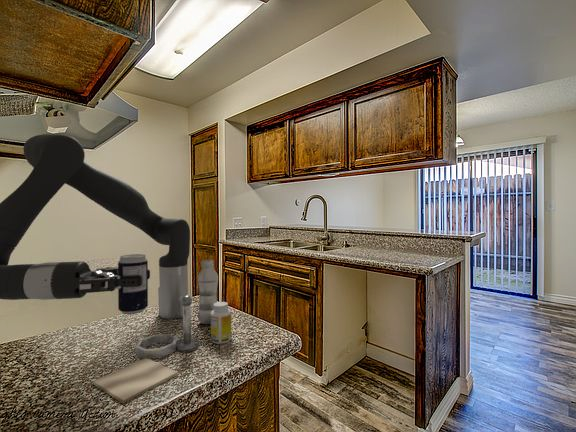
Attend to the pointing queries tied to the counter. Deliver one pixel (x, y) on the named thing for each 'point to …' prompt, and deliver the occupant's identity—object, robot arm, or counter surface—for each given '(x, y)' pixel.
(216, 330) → the supplement bottle
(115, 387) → the birch board
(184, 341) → the steel ring stand
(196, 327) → the counter surface
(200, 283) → the plastic bottle
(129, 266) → the beverage can
